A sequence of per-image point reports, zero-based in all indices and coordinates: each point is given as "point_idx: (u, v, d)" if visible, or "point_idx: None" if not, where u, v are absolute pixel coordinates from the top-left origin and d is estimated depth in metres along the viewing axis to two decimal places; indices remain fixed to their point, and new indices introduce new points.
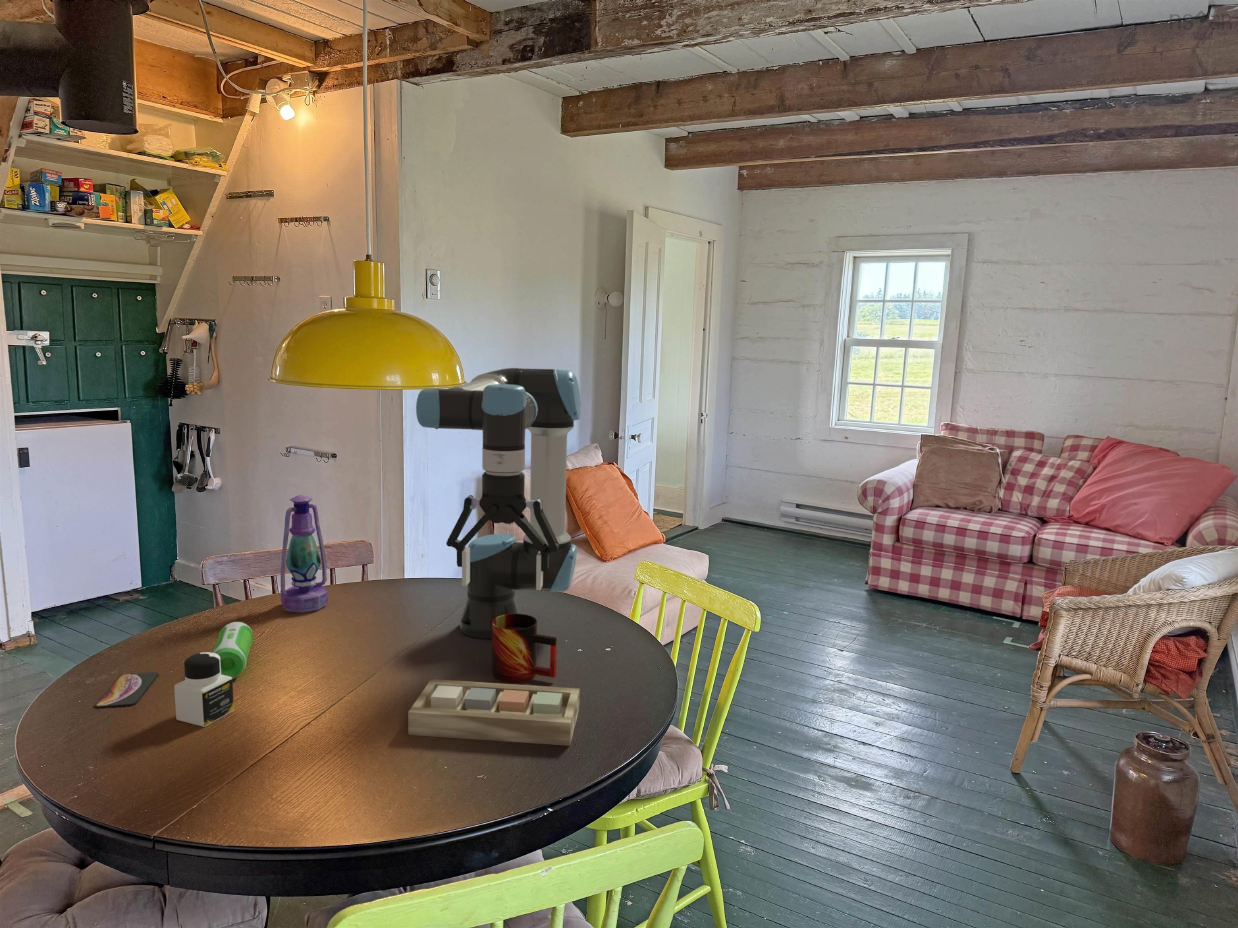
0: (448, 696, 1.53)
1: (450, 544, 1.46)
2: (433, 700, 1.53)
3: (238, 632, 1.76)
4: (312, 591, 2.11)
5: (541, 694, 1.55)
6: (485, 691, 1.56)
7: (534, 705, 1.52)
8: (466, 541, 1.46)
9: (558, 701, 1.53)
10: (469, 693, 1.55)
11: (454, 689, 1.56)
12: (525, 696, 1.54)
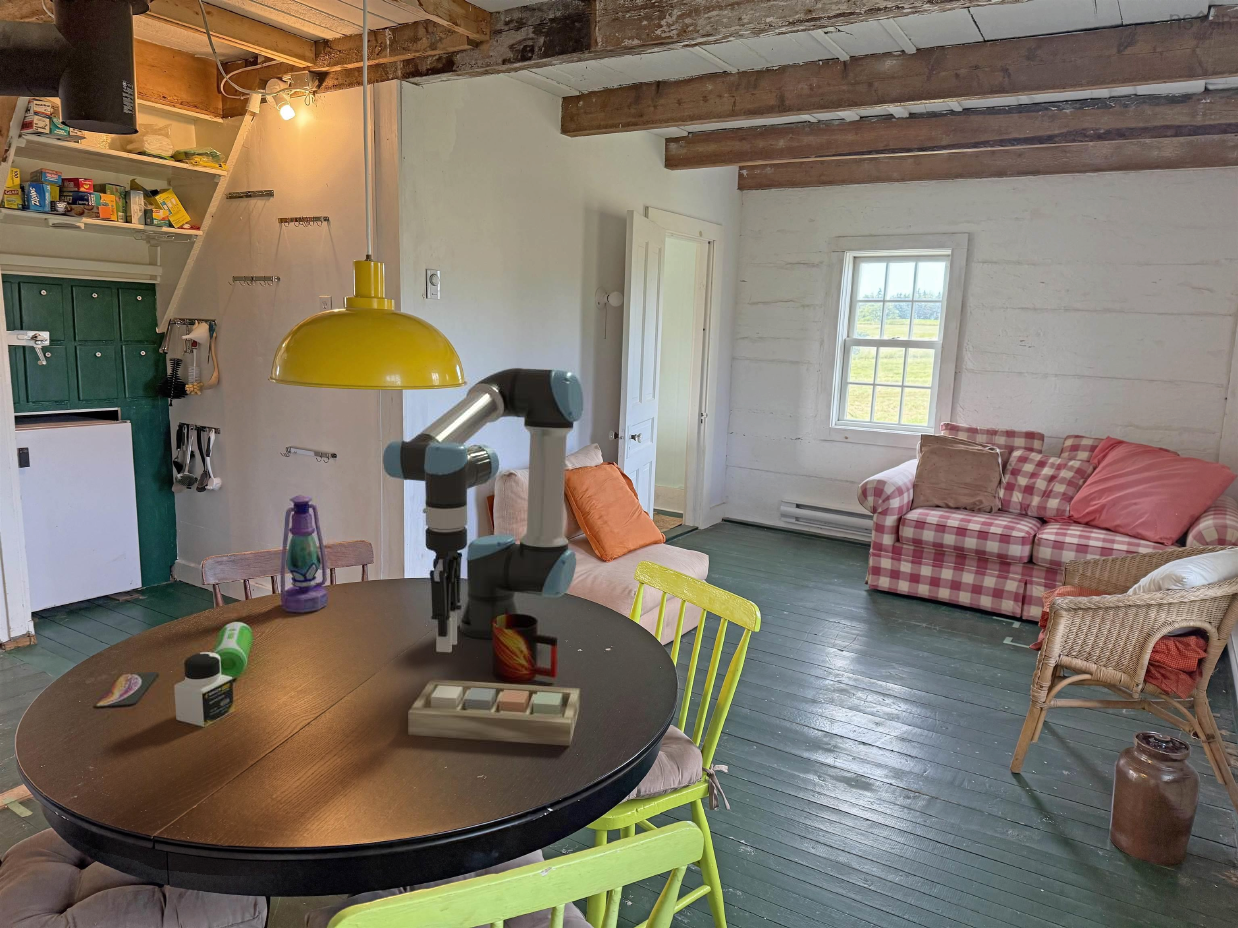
0: (448, 696, 1.53)
1: None
2: (433, 700, 1.53)
3: (238, 632, 1.76)
4: (312, 591, 2.11)
5: (541, 694, 1.55)
6: (485, 691, 1.56)
7: (534, 705, 1.52)
8: None
9: (558, 701, 1.53)
10: (469, 693, 1.55)
11: (454, 689, 1.56)
12: (525, 696, 1.54)
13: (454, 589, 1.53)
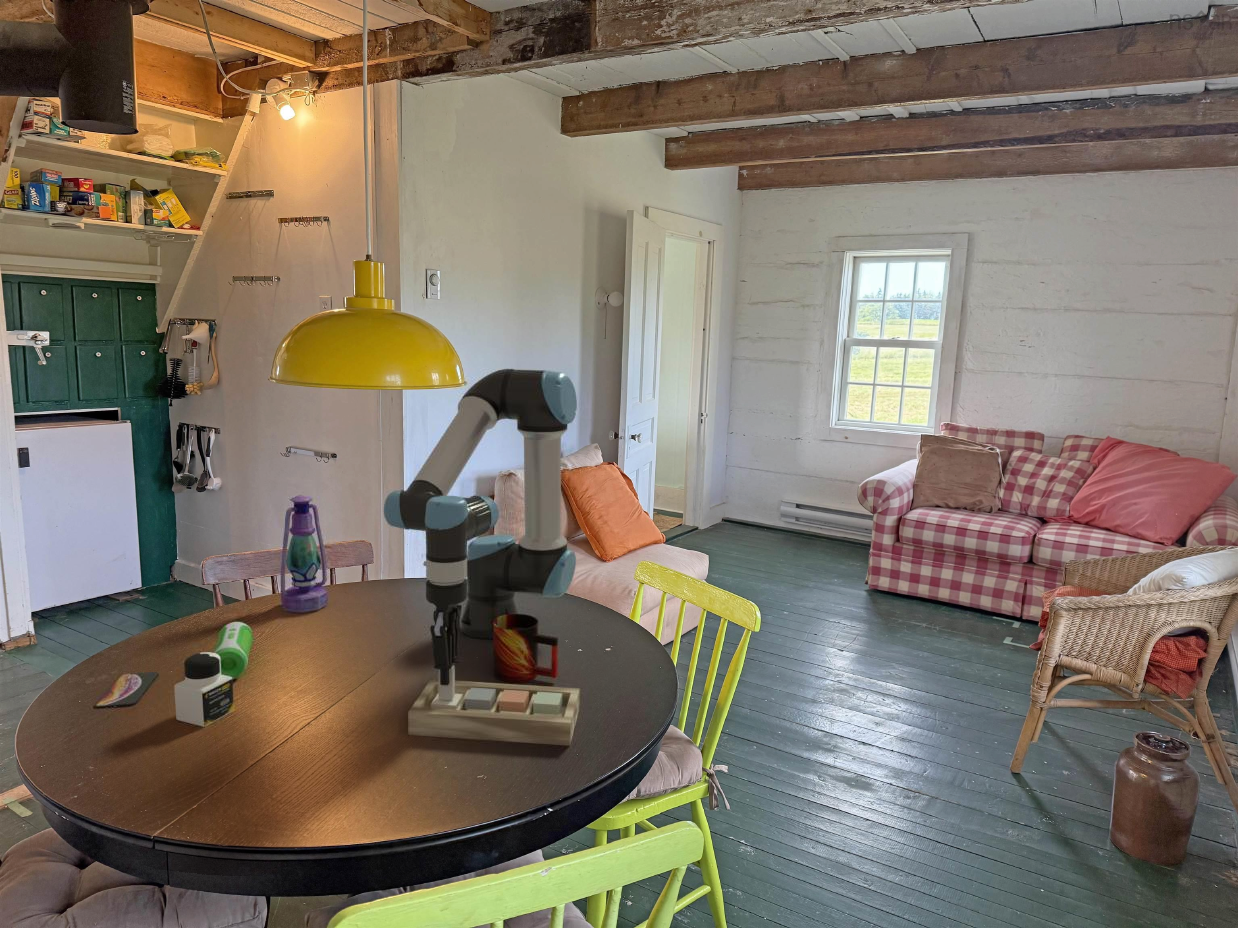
0: (448, 703, 1.54)
1: None
2: (433, 707, 1.53)
3: (239, 632, 1.76)
4: (312, 591, 2.11)
5: (541, 694, 1.55)
6: (485, 691, 1.56)
7: (534, 705, 1.52)
8: None
9: (558, 701, 1.53)
10: (469, 693, 1.55)
11: None
12: (525, 696, 1.54)
13: (453, 642, 1.54)
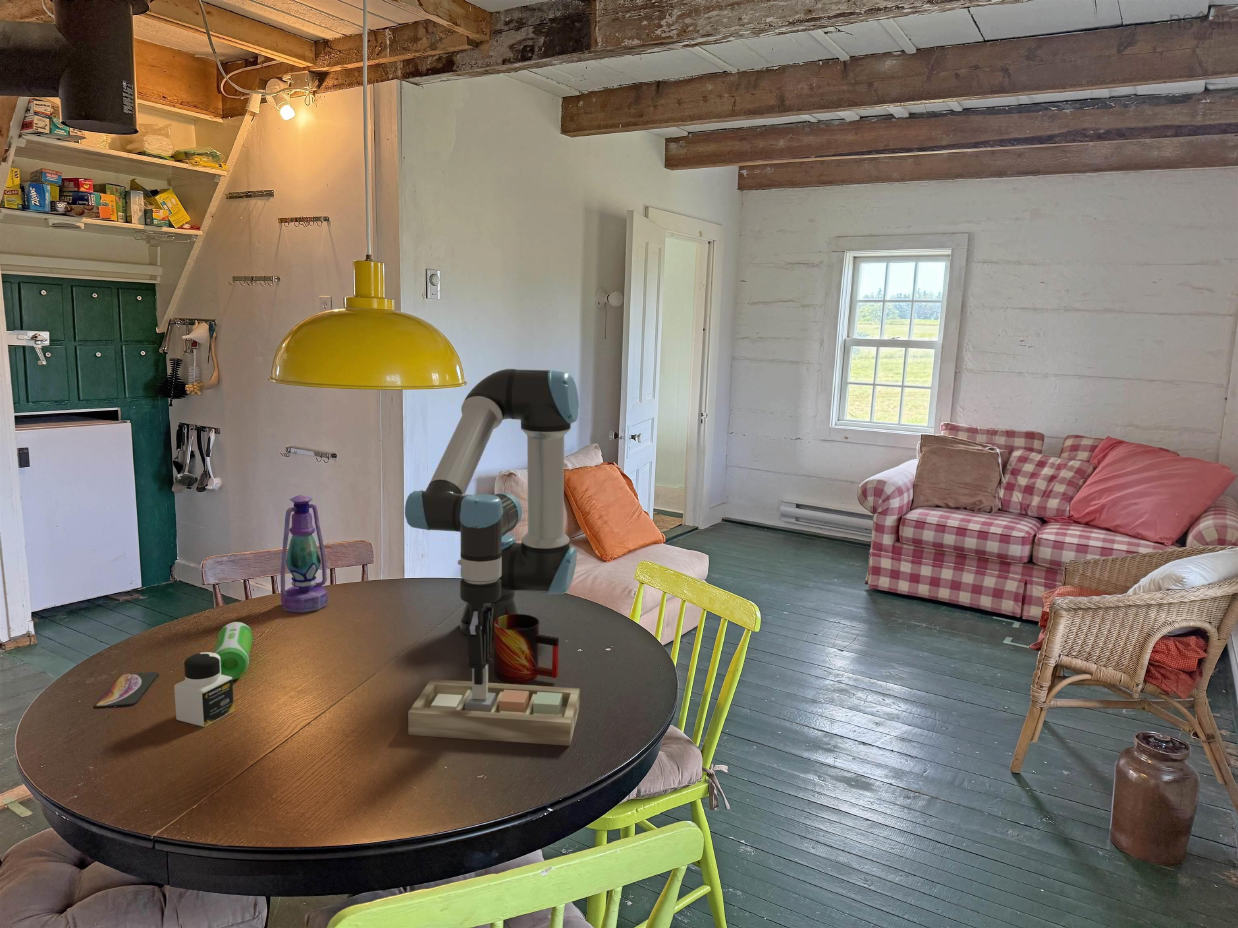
0: (448, 704, 1.54)
1: None
2: None
3: (239, 632, 1.76)
4: (312, 591, 2.11)
5: (541, 694, 1.55)
6: None
7: (534, 705, 1.52)
8: None
9: (558, 701, 1.53)
10: (469, 697, 1.55)
11: (454, 697, 1.57)
12: (525, 696, 1.54)
13: (486, 641, 1.53)
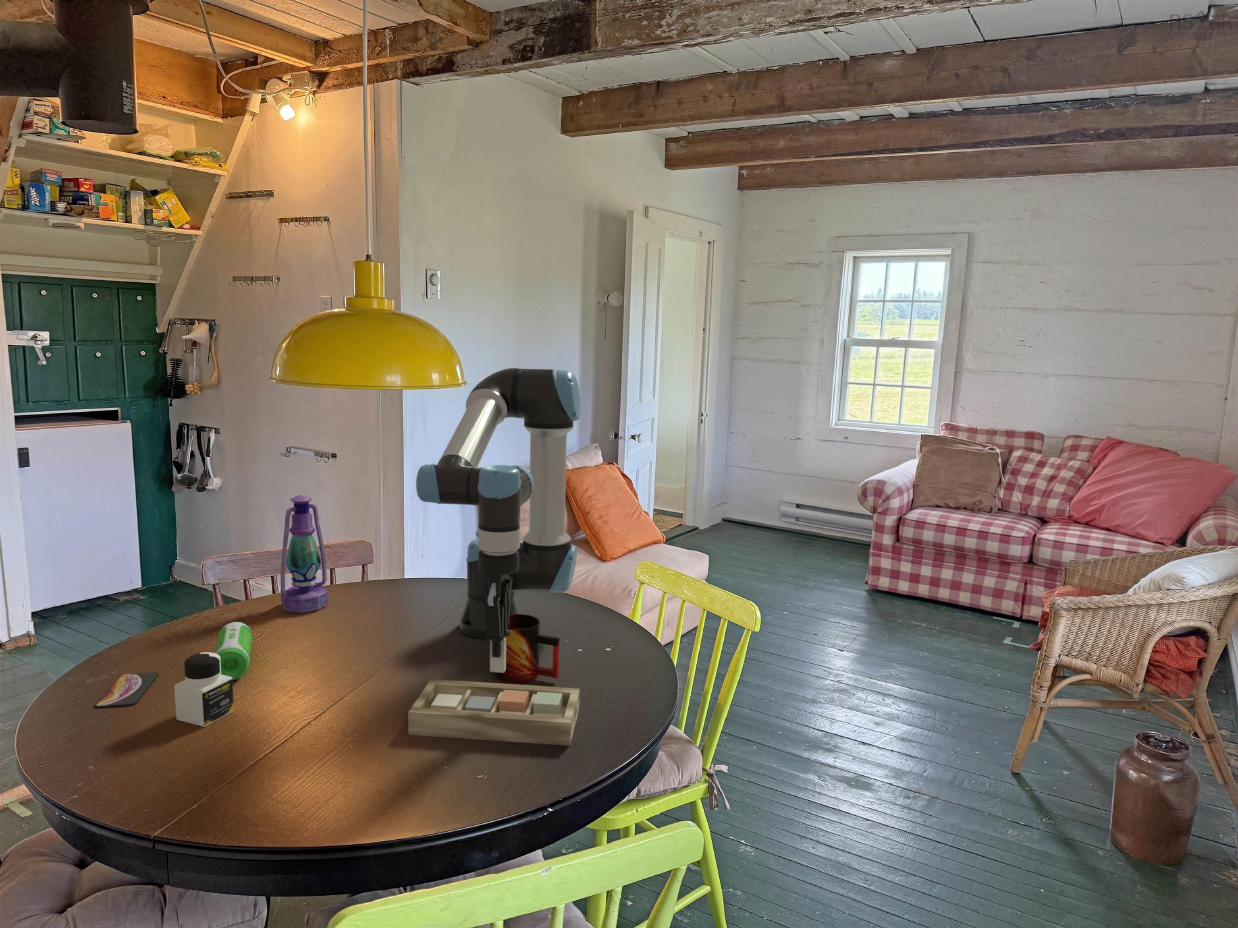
0: (448, 704, 1.54)
1: None
2: None
3: (239, 632, 1.76)
4: (312, 591, 2.11)
5: (541, 694, 1.55)
6: (485, 699, 1.56)
7: (534, 705, 1.52)
8: None
9: (558, 701, 1.53)
10: (469, 701, 1.55)
11: (454, 697, 1.57)
12: (525, 696, 1.54)
13: (504, 613, 1.52)
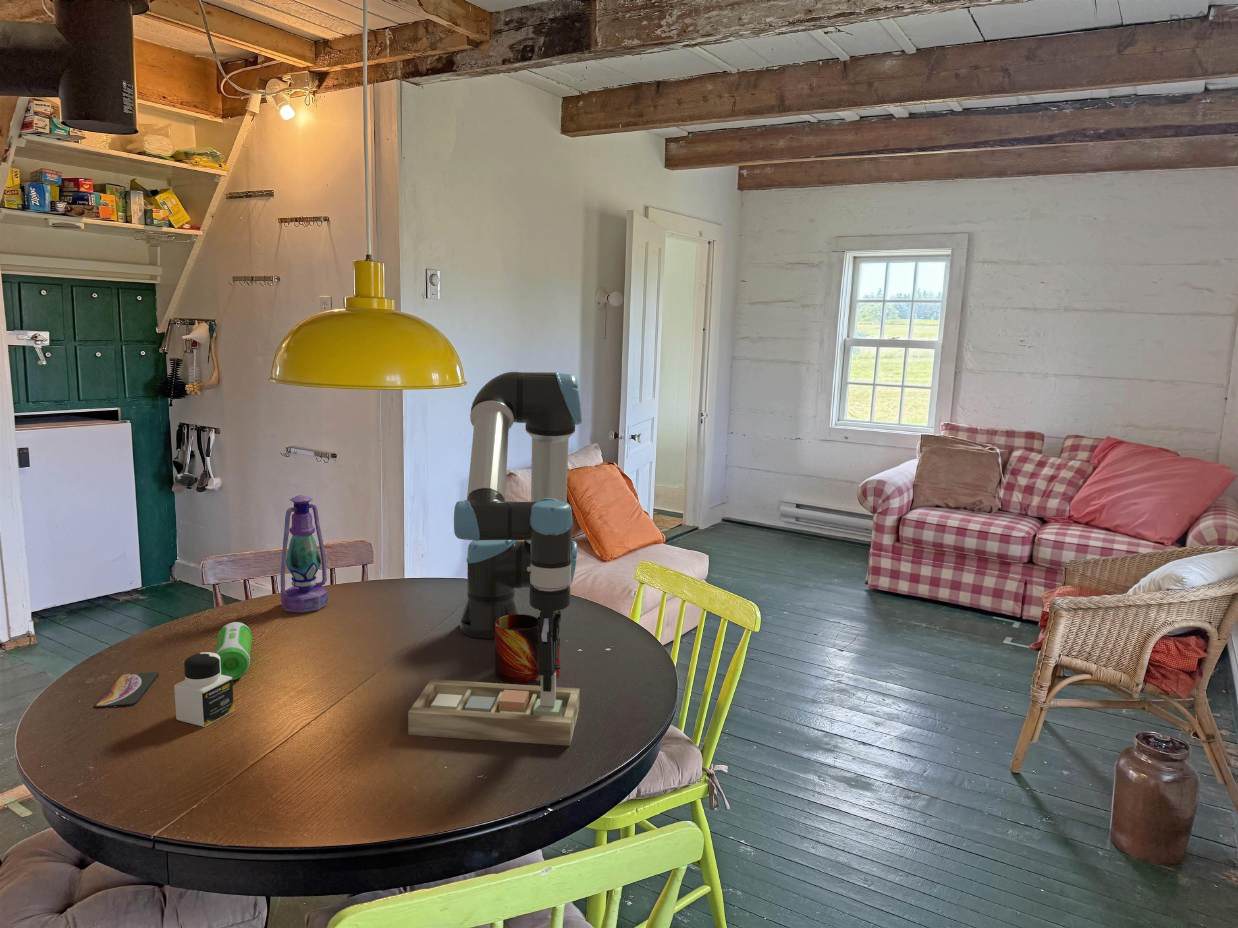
0: (448, 704, 1.54)
1: None
2: None
3: (239, 632, 1.76)
4: (312, 591, 2.11)
5: None
6: (485, 699, 1.56)
7: (534, 712, 1.52)
8: None
9: (558, 708, 1.53)
10: (469, 701, 1.55)
11: (454, 697, 1.57)
12: (525, 696, 1.54)
13: (555, 647, 1.53)
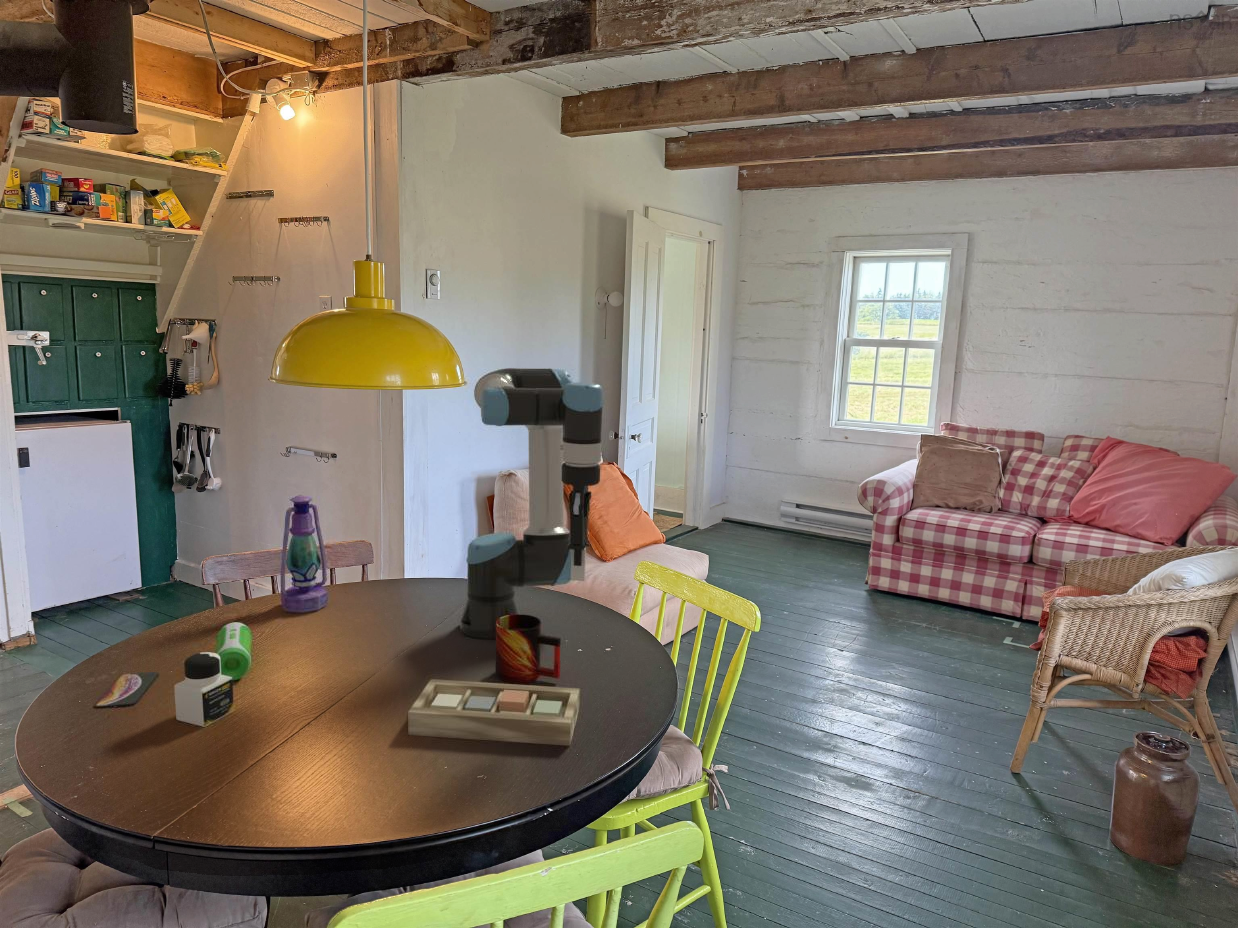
0: (448, 704, 1.54)
1: None
2: None
3: (239, 632, 1.76)
4: (312, 591, 2.11)
5: (541, 702, 1.56)
6: (485, 699, 1.56)
7: (534, 713, 1.52)
8: None
9: (558, 709, 1.53)
10: (469, 701, 1.55)
11: (454, 697, 1.57)
12: (525, 696, 1.54)
13: (585, 525, 1.60)
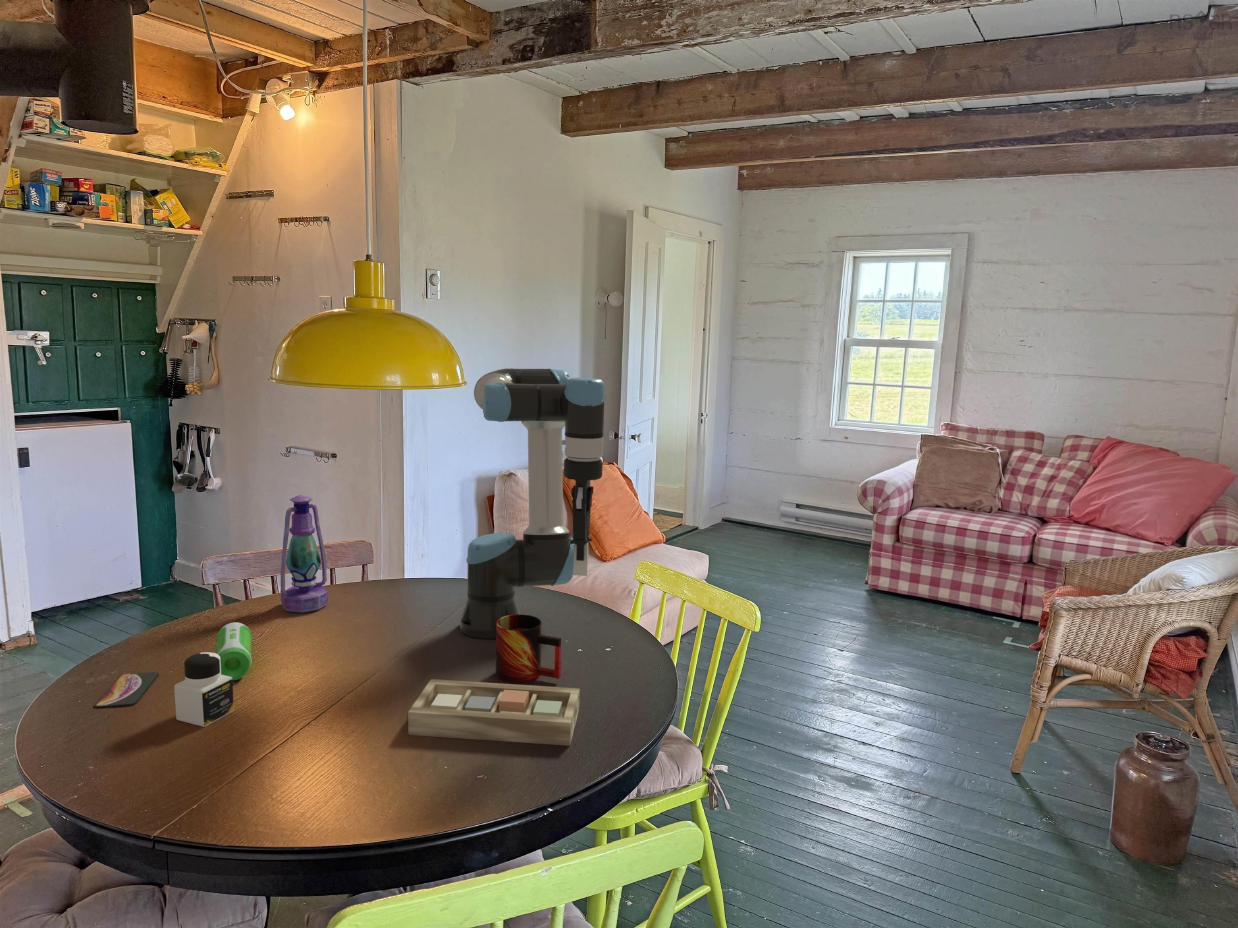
0: (448, 704, 1.54)
1: None
2: None
3: (239, 632, 1.76)
4: (312, 591, 2.11)
5: (541, 702, 1.56)
6: (485, 699, 1.56)
7: (534, 713, 1.52)
8: None
9: (558, 709, 1.53)
10: (469, 701, 1.55)
11: (454, 697, 1.57)
12: (525, 696, 1.54)
13: (587, 519, 1.61)
